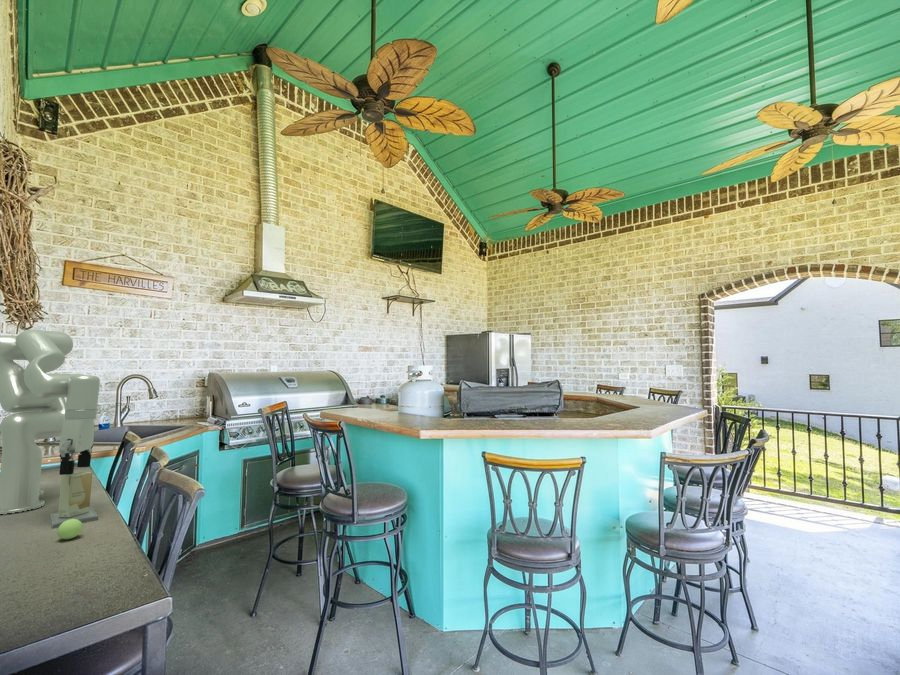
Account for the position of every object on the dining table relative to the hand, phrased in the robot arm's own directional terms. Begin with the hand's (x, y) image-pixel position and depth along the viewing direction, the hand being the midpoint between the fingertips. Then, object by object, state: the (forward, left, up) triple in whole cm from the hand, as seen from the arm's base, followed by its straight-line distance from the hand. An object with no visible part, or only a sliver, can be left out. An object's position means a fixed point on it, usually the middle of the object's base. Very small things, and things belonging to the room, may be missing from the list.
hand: (75, 470), depth 129 cm
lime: (+21, +9, -14) cm, 27 cm away
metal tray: (+1, +1, -14) cm, 14 cm away
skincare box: (0, +1, -13) cm, 13 cm away
